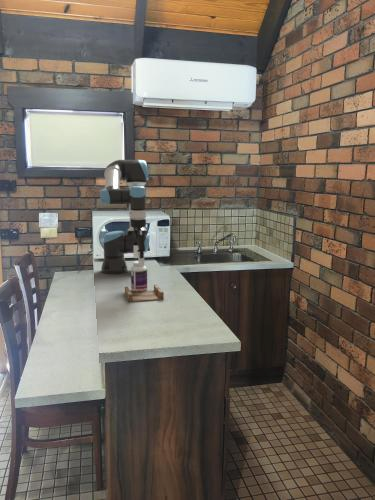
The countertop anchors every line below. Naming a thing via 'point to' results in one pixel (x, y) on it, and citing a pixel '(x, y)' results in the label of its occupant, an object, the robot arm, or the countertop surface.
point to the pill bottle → (138, 277)
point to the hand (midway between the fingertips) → (138, 261)
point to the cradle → (144, 295)
